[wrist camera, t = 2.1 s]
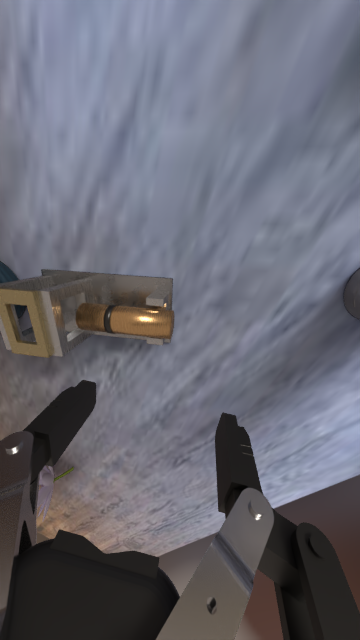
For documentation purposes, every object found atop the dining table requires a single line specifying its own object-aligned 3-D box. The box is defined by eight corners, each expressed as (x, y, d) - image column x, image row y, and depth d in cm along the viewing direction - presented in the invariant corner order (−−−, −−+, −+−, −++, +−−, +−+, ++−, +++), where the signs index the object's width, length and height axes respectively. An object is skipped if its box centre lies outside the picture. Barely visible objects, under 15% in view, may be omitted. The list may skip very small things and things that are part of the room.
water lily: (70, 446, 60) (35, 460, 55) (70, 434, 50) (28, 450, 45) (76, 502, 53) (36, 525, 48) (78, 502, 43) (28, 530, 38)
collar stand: (172, 278, 29) (156, 293, 20) (170, 341, 33) (156, 377, 24) (44, 269, 32) (-25, 278, 22) (56, 328, 36) (3, 357, 26)
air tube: (174, 306, 27) (169, 315, 23) (173, 332, 29) (168, 345, 25) (91, 298, 29) (72, 306, 25) (94, 323, 30) (77, 335, 26)
